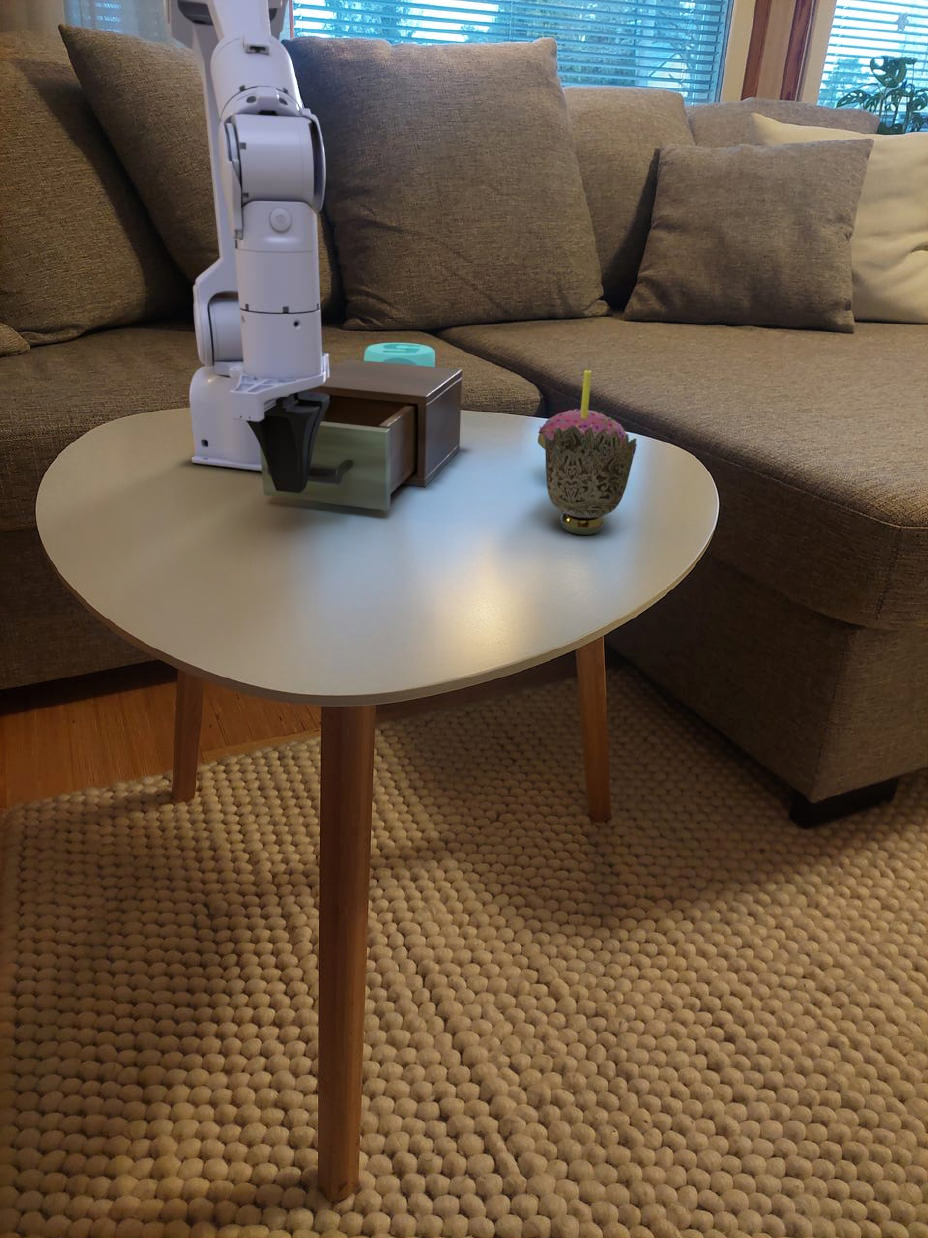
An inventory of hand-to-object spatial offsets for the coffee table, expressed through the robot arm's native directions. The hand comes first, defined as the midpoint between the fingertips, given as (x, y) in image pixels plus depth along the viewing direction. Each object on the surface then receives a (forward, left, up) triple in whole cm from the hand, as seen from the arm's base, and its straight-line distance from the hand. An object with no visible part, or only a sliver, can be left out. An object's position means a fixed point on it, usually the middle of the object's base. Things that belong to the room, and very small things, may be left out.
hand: (290, 489), depth 69 cm
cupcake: (+20, +22, -4) cm, 30 cm away
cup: (+22, +10, -4) cm, 25 cm away
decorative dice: (-4, +39, -4) cm, 39 cm away
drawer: (0, +10, -3) cm, 10 cm away
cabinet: (0, +22, -4) cm, 22 cm away
